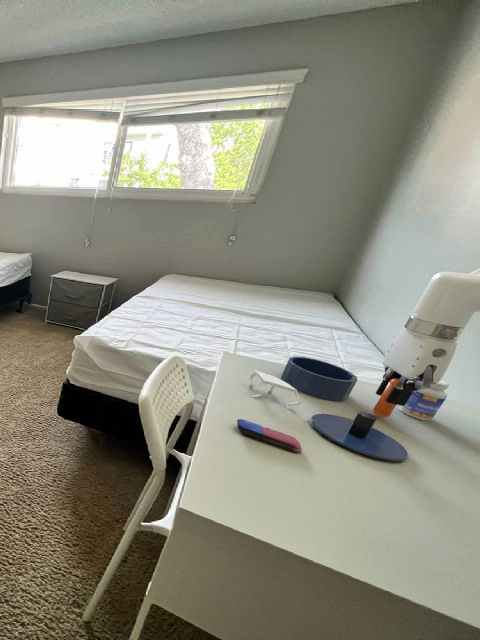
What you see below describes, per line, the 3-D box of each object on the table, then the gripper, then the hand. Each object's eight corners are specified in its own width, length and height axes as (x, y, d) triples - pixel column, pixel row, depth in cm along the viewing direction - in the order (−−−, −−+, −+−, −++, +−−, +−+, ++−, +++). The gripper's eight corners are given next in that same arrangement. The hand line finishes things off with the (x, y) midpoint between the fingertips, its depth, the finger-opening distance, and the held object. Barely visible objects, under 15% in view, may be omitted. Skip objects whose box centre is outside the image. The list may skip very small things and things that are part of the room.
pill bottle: (411, 418, 85) (433, 384, 81) (391, 406, 90) (411, 373, 86) (438, 423, 84) (462, 388, 80) (417, 410, 89) (438, 377, 85)
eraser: (298, 445, 73) (302, 438, 72) (302, 456, 69) (306, 449, 69) (233, 422, 78) (236, 416, 77) (234, 432, 75) (238, 425, 74)
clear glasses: (235, 390, 92) (242, 374, 90) (248, 383, 96) (255, 367, 95) (293, 415, 83) (301, 398, 81) (304, 405, 87) (312, 388, 85)
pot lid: (377, 428, 80) (390, 406, 78) (425, 473, 67) (443, 448, 65) (297, 410, 85) (308, 389, 83) (329, 448, 72) (342, 424, 70)
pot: (330, 382, 100) (339, 363, 98) (358, 406, 88) (369, 386, 86) (273, 370, 105) (281, 352, 103) (292, 392, 93) (301, 373, 91)
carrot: (382, 414, 85) (405, 378, 81) (390, 421, 83) (413, 383, 79) (367, 411, 86) (389, 375, 82) (375, 417, 84) (397, 380, 80)
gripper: (490, 346, 68) (437, 424, 74) (426, 320, 82) (387, 387, 88) (437, 338, 70) (391, 413, 77) (384, 314, 84) (349, 380, 91)
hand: (389, 399), depth 83 cm, fingers closed on carrot, 2 cm apart
